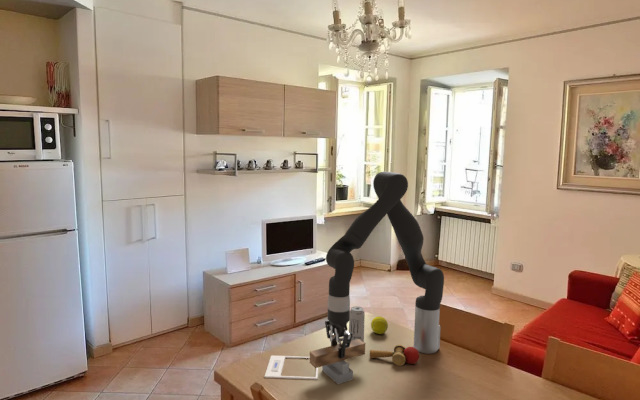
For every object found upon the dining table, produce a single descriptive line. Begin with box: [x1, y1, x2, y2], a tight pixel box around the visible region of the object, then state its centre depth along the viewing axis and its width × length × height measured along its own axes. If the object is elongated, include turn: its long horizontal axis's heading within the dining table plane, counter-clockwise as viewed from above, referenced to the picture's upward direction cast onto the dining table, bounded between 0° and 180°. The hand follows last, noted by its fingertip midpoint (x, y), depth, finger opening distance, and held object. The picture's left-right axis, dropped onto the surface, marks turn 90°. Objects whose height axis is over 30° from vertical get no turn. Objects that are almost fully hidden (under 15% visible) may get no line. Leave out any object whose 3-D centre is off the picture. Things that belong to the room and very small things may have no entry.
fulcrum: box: [321, 360, 354, 385], centre depth 147 cm, size 6×10×6 cm, turn 31°
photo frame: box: [264, 354, 319, 381], centre depth 152 cm, size 15×1×18 cm
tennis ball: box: [370, 316, 389, 335], centre depth 180 cm, size 7×7×7 cm
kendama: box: [369, 344, 420, 367], centre depth 157 cm, size 8×6×18 cm
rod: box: [309, 339, 366, 369], centre depth 146 cm, size 20×4×4 cm, turn 120°
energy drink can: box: [348, 306, 366, 343], centre depth 169 cm, size 6×6×15 cm
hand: (337, 354), depth 146 cm, fingers closed on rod, 4 cm apart
